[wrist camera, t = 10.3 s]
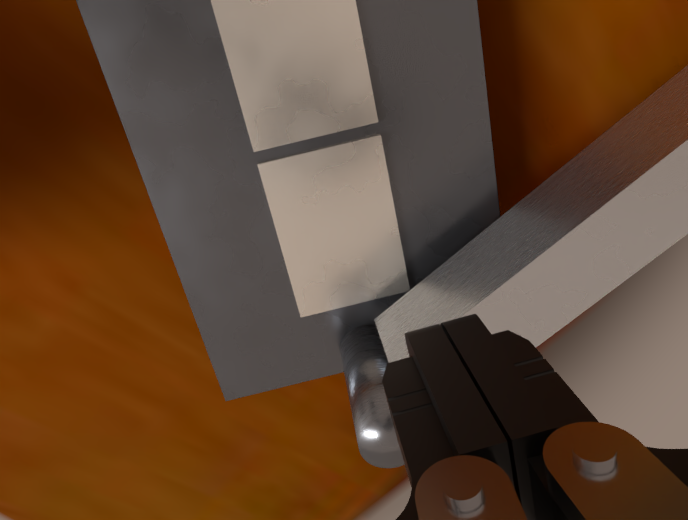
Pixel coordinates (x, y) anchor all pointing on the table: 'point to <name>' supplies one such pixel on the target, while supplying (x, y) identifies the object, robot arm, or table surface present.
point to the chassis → (304, 171)
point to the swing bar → (566, 233)
